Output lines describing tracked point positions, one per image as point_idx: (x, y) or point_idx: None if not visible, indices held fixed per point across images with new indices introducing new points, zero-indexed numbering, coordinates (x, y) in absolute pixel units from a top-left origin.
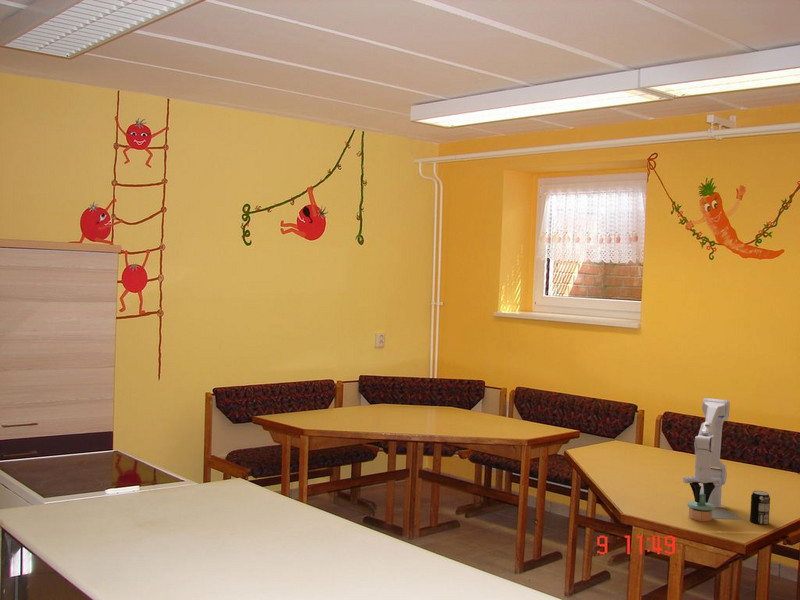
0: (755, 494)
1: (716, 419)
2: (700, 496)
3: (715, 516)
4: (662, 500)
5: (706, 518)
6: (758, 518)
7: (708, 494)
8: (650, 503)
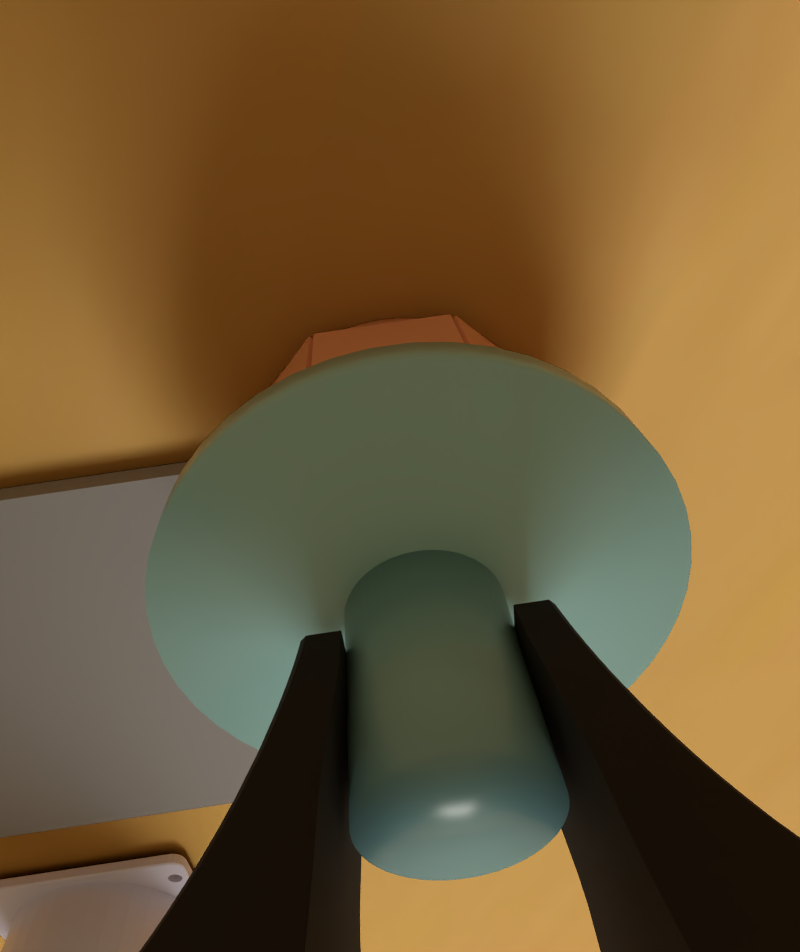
0: None
1: None
2: (521, 723)
3: None
4: (543, 936)
5: (363, 345)
6: None
7: (294, 800)
8: None
